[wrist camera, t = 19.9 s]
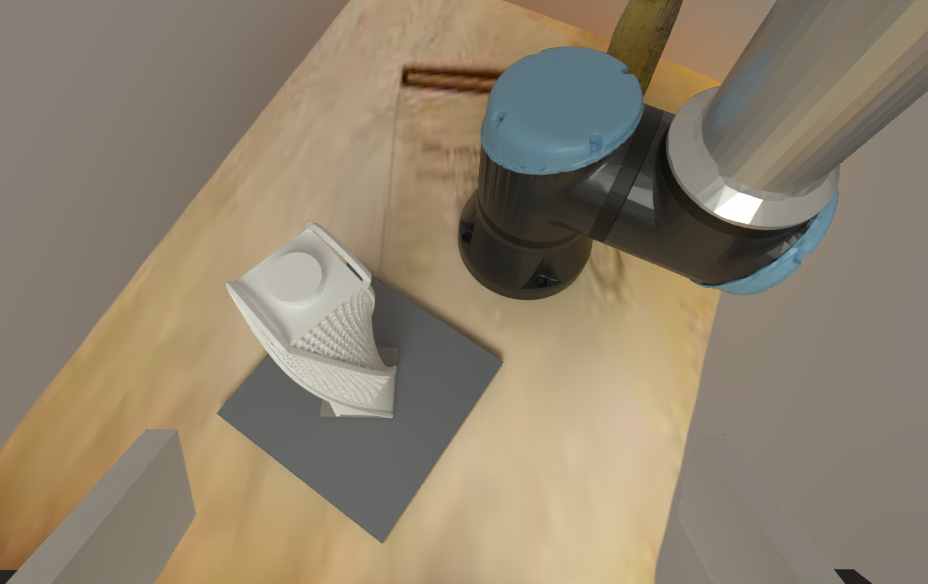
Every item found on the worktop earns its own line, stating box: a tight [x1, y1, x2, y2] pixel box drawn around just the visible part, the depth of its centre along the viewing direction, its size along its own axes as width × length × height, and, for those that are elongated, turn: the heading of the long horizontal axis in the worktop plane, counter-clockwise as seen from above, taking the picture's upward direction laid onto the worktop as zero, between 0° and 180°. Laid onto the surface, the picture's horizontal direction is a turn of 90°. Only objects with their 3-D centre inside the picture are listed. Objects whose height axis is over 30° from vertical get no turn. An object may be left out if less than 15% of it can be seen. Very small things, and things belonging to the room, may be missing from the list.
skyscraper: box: [226, 222, 398, 418], centre depth 37 cm, size 8×8×28 cm
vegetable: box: [607, 0, 683, 97], centre depth 58 cm, size 6×6×20 cm
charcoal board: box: [217, 263, 503, 543], centre depth 51 cm, size 20×20×2 cm
